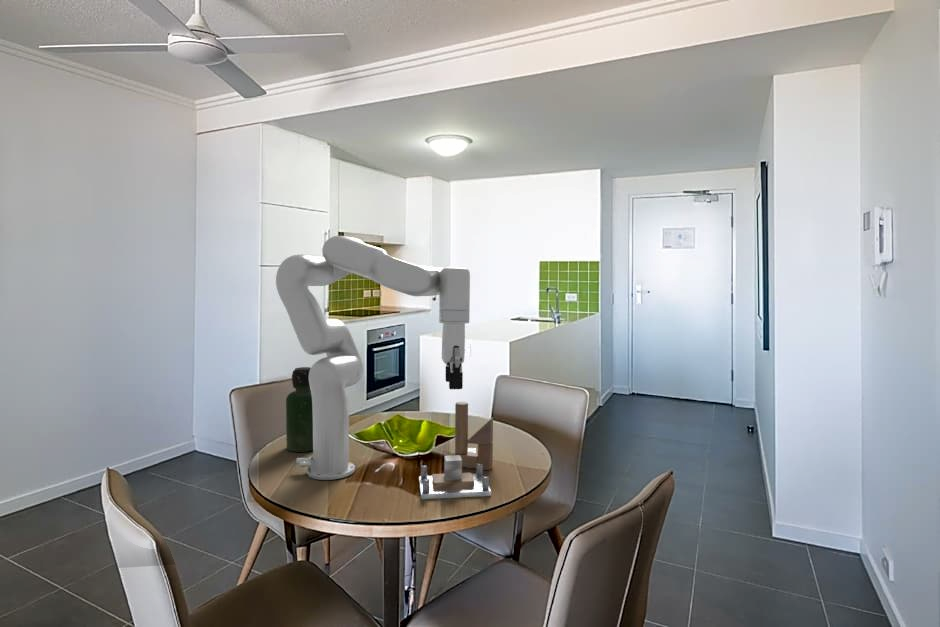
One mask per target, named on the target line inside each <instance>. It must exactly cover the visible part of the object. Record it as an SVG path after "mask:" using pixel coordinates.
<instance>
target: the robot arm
mask: <svg viewBox="0 0 940 627" xmlns="http://www.w3.org/2000/svg"><path fill="white" fill-rule="evenodd" d="M321 252H322V255H311V254H294V255H290V256H288V257H287V258H284V260H283V261H282V262H281V263H280V265H279V266H278V268H277V271H276V275H275V286H276V290H277V293H278V296H279V298H280V300H281V303H282V304H283V306H284V308H285V309H286V312H287V314H288V317H289V320H290V322H291V325H292V328H293V330H294V333H295V335H296V337H297V340H298V342H299V345H300V348H302V351H303V352H305V353H306V354H307V355H312V356H317V355H318V356H319V355H323V354H324V355H325V354H326V356H325V357H323V358H320V359H319V360H317V361H315V362H314V363H313V364H312V366H311V367H310V368H311V369H310V371H309V385H310V390H311V396H312V413H313V451H312V455H311V456H308V457H297V458H296V462H295V463H296V466H299V468H306V467H307V470H306V474H307V476H308V477H309V478H310V479H313V480H319V481H331V480H339V479H344V478H347V477H348V476H351V475H353V473H355V470H356V466H355V464H354V463H353V462H350V414H349V413H350V412H349V411H350V410H349V400H348V397H347V395H346V390H345V389H346V388H348V387H352V386H355V385H356V384H357V383H359V381H361V379H362V377H363V375H364V364H363V361H362V357H361V355H360V353H359V351H358V348H357V345H356V343H355V341H354V338H353V337H352V333H351V331H350V330H349V328H348V327H347V325H346V324H345V323H344V322H343V321H341V319H337V318H334V317H333V318H330V317H329V318H326V316H325V315H324V313H323V310H322V308H321V305H320V303H319V301H318V300H317V298H316V297H315V295H314V294H313V293H312V292H311V290H310V289H309V287H325V286H329V285H331V284H334V283H335V282H337V281H339V280H341V279H343V278H345V277H347V276H348V275H350V274H355V275H357V276H359V277H362V278H366V279H369V280H371V281H373V282H375V283H377V284H379V285H381V286H383V287H385V288H388V289H391V290H394V291H396V292H399V293H401V294H405V295H407V296H412V297H433V296H439V303H438V304H439V309H438V310H439V311H438V312H439V316H438V321H439V322H438V323H440V324H442V336H441V339H442V340H441V360H442V362H443V363H444V364H445V382H446V383H447V382H448V388H449V390H463V387H464V386H463V378H464V377H463V376H464V375H463V374H464V373H463V365H462V364H463V363H465V352H466V351H465V347H466V346H465V342H466V330H465V329H466V324H469V323H470V313H471V312H470V308H471V307H470V302H471V301H470V300H471V298H470V296H471V292H470V291H471V289H470V288H471V285H470V284H471V272H470V270H469V269H468V268H466V267H462V266H461V267H459V266H458V267H457V266H448V267H447V266H446V267H436V266H435V267H434V266H428V265H419V264H418V265H417V264H415V263H411V262H407V261H405V260H401V259H398V258H396V257H393V256H391V255H389V254H388V253H387V250H385V249H383V248H381V247H378V246H374V245H371V244H368V243H365V242H364V241H362V240H361V239H359V238H357V237H350V236H344V235H335V236H331V237H329V238H327V240H326V241H325V242H324V243H323V245H322V250H321Z"/></svg>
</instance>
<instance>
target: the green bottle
mask: <svg viewBox="0 0 940 627" xmlns="http://www.w3.org/2000/svg"><path fill="white" fill-rule="evenodd" d="M310 369H311V367H309V366H308V367H307V366H304V367H295V368H294V370H292V374H291V383H292V387H293V388H294V389H295V390H293V391H291V392H290V393H289V394H288V395H287V396H286V399H285V408H286V409H285V411H286V412H285V414H286V415H285V416H286V417H285V418H286V419H285V420H286V424H285V426H286V449H287V450H288V451H290V452H294V453H306V452H313V413H312V396H311V390H310V385H309V371H310Z"/></svg>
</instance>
